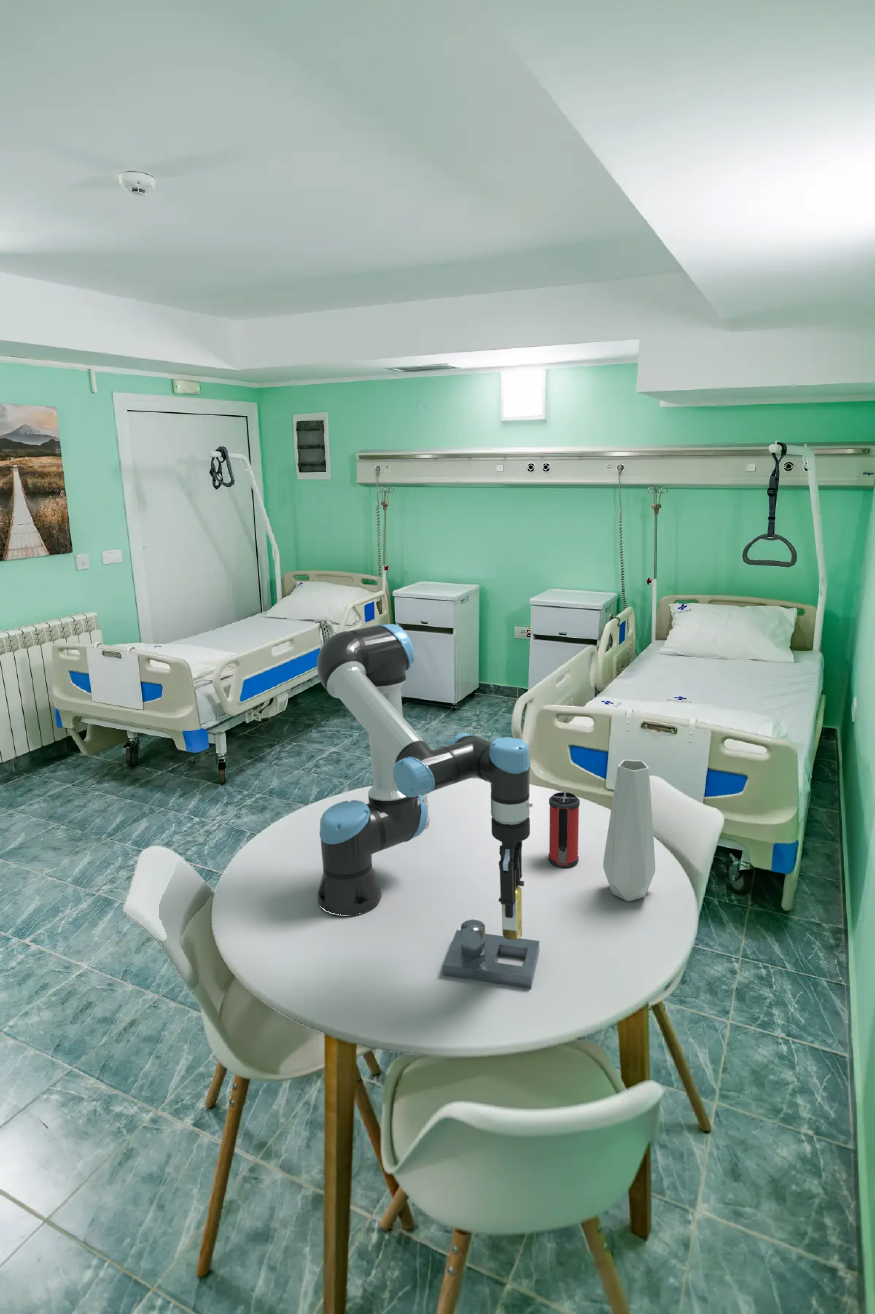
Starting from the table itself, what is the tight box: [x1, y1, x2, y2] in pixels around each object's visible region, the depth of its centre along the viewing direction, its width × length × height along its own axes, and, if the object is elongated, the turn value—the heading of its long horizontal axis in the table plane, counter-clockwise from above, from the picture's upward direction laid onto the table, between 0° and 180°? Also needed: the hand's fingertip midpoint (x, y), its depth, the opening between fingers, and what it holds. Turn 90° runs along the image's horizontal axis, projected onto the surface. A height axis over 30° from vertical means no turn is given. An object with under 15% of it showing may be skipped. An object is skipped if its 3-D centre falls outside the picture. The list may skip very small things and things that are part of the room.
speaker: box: [548, 791, 581, 868], centre depth 194 cm, size 8×8×18 cm
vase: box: [602, 759, 656, 902], centre depth 177 cm, size 12×12×33 cm
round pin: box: [501, 885, 523, 940], centre depth 153 cm, size 4×4×10 cm
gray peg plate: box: [442, 919, 540, 989], centre depth 156 cm, size 18×12×8 cm, turn 75°
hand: (512, 922), depth 153 cm, fingers closed on round pin, 4 cm apart
